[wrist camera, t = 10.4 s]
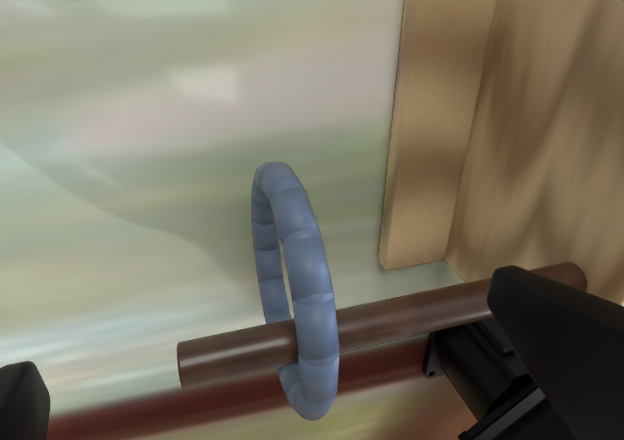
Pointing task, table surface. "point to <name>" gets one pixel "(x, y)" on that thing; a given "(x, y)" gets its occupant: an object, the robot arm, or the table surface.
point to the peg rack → (481, 171)
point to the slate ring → (296, 285)
